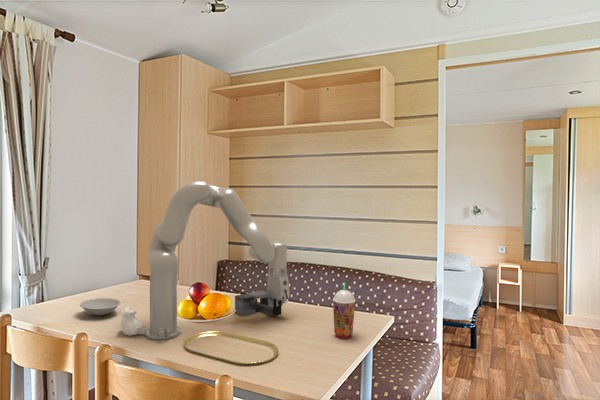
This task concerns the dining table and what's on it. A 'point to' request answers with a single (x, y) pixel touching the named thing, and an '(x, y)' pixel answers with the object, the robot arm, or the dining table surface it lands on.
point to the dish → (100, 305)
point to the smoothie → (343, 313)
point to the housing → (250, 302)
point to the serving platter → (233, 336)
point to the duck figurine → (131, 323)
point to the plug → (264, 308)
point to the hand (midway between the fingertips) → (277, 314)
